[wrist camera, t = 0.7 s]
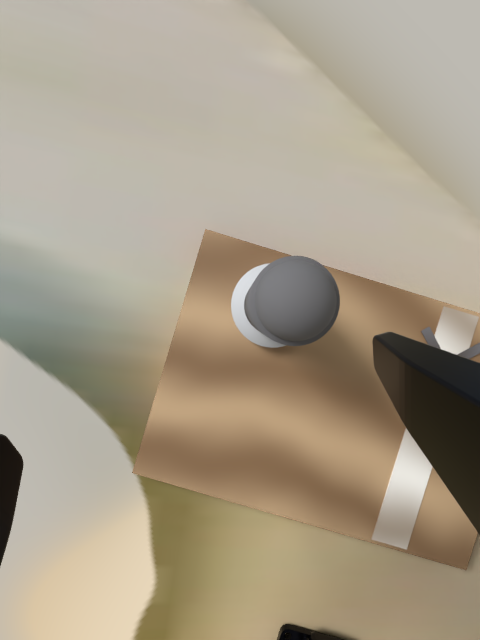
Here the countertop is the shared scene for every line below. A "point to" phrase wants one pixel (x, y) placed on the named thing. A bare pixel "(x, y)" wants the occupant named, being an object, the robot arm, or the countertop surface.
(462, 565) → the board
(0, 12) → the countertop surface
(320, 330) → the grey domed cylinder
